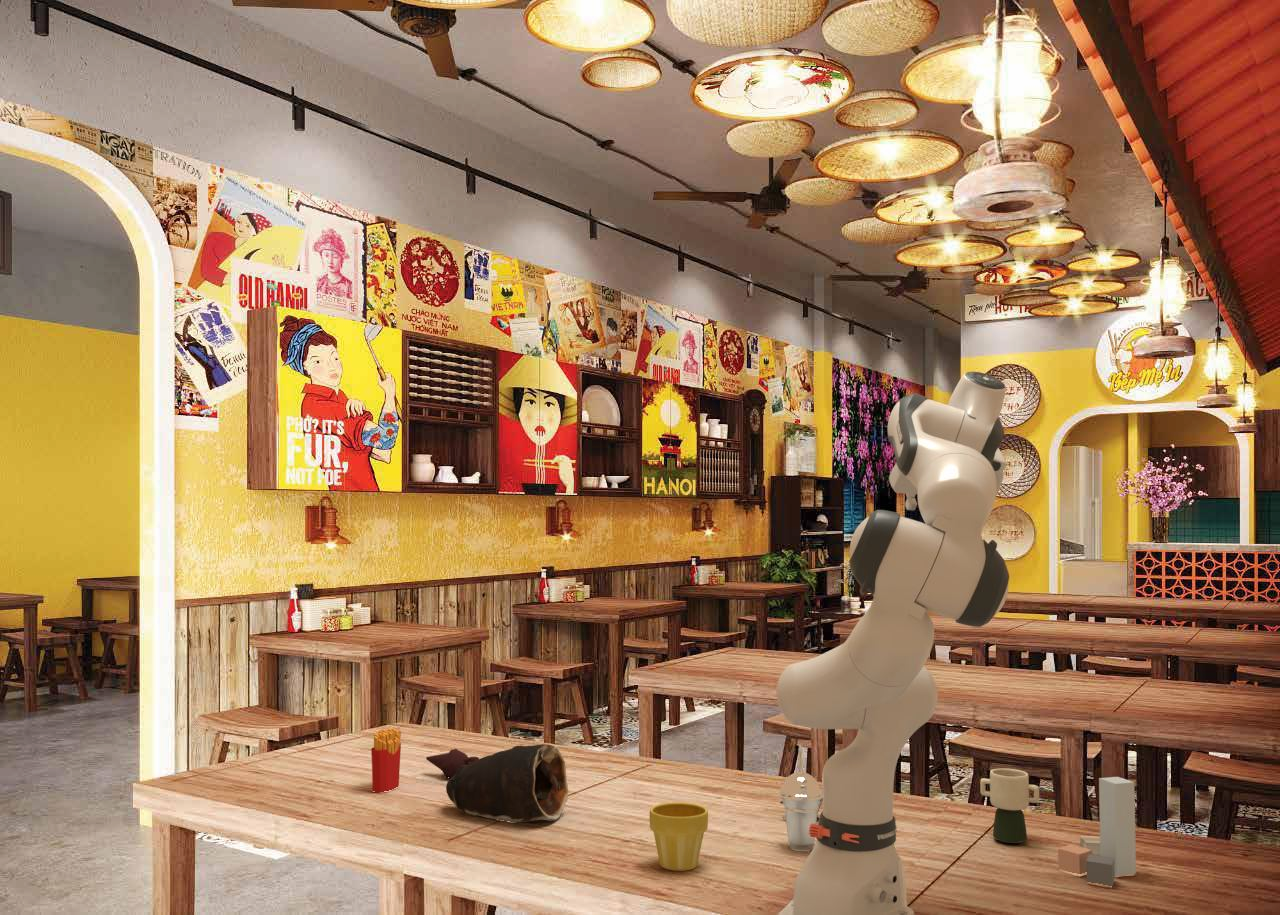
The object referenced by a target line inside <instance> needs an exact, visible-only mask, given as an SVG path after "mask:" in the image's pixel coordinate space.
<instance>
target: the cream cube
mask: <svg viewBox="0 0 1280 915" xmlns="http://www.w3.org/2000/svg"><path fill="white" fill-rule="evenodd" d="M1079 847H1083V848H1086V849H1090V850H1092V855H1097V856H1100V836H1097V835H1095V836H1094V835H1093V836H1092V835H1091V836H1090V835H1079Z"/></svg>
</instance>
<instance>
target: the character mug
mask: <svg viewBox="0 0 1280 915" xmlns="http://www.w3.org/2000/svg"><path fill="white" fill-rule="evenodd" d="M1029 779H1030V778H1029V773H1028V772H1026V771H1024V770H1020V769H1016V768H993V769H990V772H989V778H984V777H983V778H981V779H980V794H981V796H983V797H984V796H985V797H989V799H990V803H991V805H992V806H993V807H996V810H995V813H994V821H993V830H992V837H993V838H994V839H996V840H997V841H1000V842H1001V843H1009V844H1013V843H1018V842H1019V843H1021V842H1025V841H1027V840H1028V834H1027V826H1026V819H1025V814H1024V812H1023V810H1025V809H1027V808H1028V807H1029V805H1030V803H1033V804H1038V803H1039V802H1040V787H1039V786H1038V785H1036V784H1029ZM986 785H989V790H986V789H987V788H986V787H987V786H986ZM1030 791H1033V797H1031V796H1030ZM1019 843H1018V844H1019Z"/></svg>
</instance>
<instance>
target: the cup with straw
mask: <svg viewBox="0 0 1280 915" xmlns="http://www.w3.org/2000/svg"><path fill="white" fill-rule="evenodd" d="M794 748H795V749H796V750H797V751H798V771H797V772H794V773H792V774H790V775H788V776H787V777H786V778H785V779H784V782H783V785H782V786H781V787H780V788H779V789H778V793H777V794H778V796H779V797H780V798H781V799H782V801H783V808H784V813H785V816H784V817H785V824H786V833H787V842H788V843H789V844H788V845H789V846H788V848H789V849H790V850H791V851H794V852H800V853H802V852H804V853H806V852H810V851H812V850H813V848H814V843H815V838H816V837H811V836H810V835H809V833H810V832H809V828H810V825H811V824H812V823H813V824H816V825H817V821H818V820H817V817H818V814H817V811H818V808H819V804H820V799H822V798H823V792H822V788H820V785H819V782H817V779H816V778H815V777H814V776H812V775H811V774H809V773H808V772H803V746H802V744H800V743H799V744H797V745H795V747H794ZM818 812H819V811H818ZM805 851H806V852H805Z"/></svg>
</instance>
